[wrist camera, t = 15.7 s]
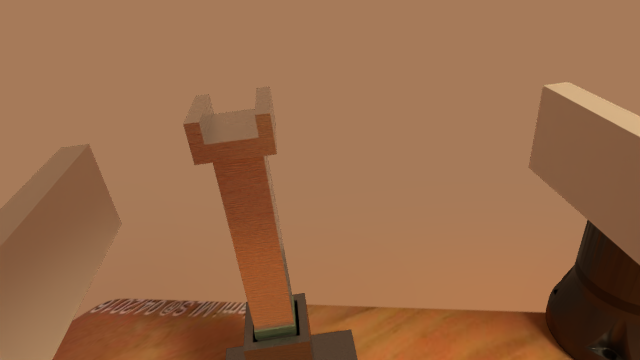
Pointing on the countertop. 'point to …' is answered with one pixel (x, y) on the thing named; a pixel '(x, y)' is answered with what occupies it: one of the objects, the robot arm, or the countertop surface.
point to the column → (248, 204)
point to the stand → (295, 342)
